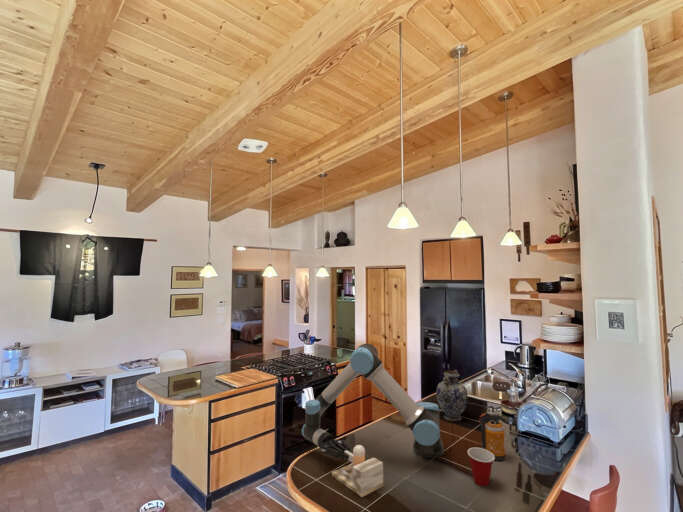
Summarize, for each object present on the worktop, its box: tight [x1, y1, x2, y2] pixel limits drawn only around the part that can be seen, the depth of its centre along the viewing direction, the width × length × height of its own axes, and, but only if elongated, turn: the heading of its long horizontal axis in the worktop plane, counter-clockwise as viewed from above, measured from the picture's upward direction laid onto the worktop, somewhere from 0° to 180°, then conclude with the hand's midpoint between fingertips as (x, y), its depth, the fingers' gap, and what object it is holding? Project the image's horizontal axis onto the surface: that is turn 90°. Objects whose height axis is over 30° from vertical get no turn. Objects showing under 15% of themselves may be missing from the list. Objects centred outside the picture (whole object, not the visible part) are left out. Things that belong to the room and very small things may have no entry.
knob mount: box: [331, 457, 384, 498], centre depth 152 cm, size 20×12×10 cm, turn 38°
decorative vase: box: [435, 369, 469, 422], centre depth 218 cm, size 21×19×28 cm
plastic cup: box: [467, 446, 495, 487], centre depth 149 cm, size 11×11×12 cm
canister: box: [479, 412, 507, 461], centre depth 170 cm, size 9×11×20 cm
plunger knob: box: [352, 444, 366, 466], centre depth 150 cm, size 5×5×14 cm
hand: (354, 459), depth 152 cm, fingers closed
